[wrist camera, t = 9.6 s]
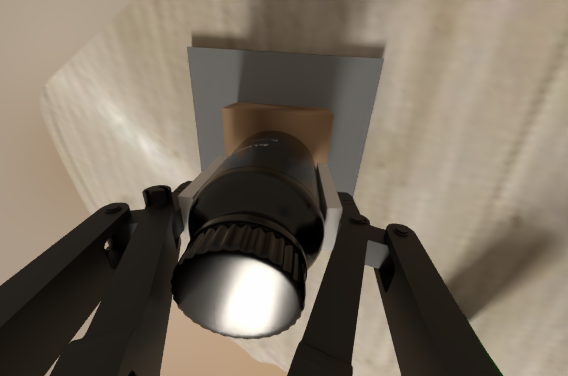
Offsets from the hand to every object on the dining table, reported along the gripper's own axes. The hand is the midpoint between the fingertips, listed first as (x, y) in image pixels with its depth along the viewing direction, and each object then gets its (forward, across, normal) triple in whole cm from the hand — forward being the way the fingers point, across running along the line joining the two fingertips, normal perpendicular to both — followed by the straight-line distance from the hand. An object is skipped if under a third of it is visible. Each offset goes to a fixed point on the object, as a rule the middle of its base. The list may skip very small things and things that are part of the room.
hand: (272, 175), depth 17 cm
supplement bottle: (+1, 0, 0) cm, 1 cm away
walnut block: (+8, 0, 0) cm, 8 cm away
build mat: (+9, 0, 0) cm, 9 cm away
